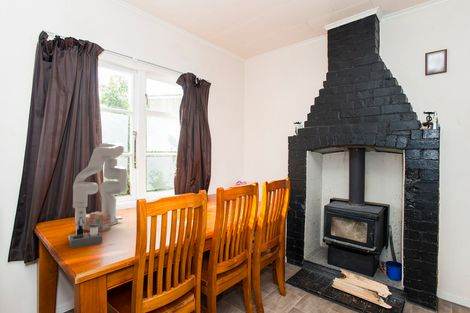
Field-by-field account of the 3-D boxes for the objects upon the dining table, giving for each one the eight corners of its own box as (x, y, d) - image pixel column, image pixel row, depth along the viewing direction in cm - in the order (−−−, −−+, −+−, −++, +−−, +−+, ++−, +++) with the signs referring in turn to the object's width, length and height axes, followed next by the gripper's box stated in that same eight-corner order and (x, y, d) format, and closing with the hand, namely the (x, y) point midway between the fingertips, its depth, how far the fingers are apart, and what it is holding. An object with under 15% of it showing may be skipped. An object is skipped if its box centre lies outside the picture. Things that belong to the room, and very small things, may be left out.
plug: (83, 236, 154) (83, 220, 154) (84, 239, 150) (84, 222, 150) (74, 238, 151) (75, 221, 151) (75, 240, 148) (75, 223, 148)
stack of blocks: (79, 229, 170) (79, 211, 170) (87, 227, 176) (88, 209, 176) (102, 233, 162) (103, 215, 162) (110, 231, 168) (111, 213, 168)
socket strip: (99, 240, 150) (99, 231, 150) (102, 245, 143) (102, 235, 143) (69, 245, 141) (69, 235, 141) (70, 250, 134) (71, 240, 133)
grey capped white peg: (97, 239, 147) (97, 223, 147) (98, 242, 143) (98, 224, 143) (88, 241, 144) (89, 224, 144) (89, 243, 141) (90, 226, 141)
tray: (88, 235, 158) (88, 232, 158) (90, 240, 151) (90, 236, 151) (68, 238, 151) (68, 235, 151) (69, 243, 144) (69, 240, 144)
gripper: (89, 206, 146) (88, 237, 146) (85, 201, 160) (85, 229, 160) (74, 207, 142) (73, 239, 142) (71, 202, 155) (71, 231, 155)
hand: (79, 234), depth 151 cm, fingers open, 4 cm apart
